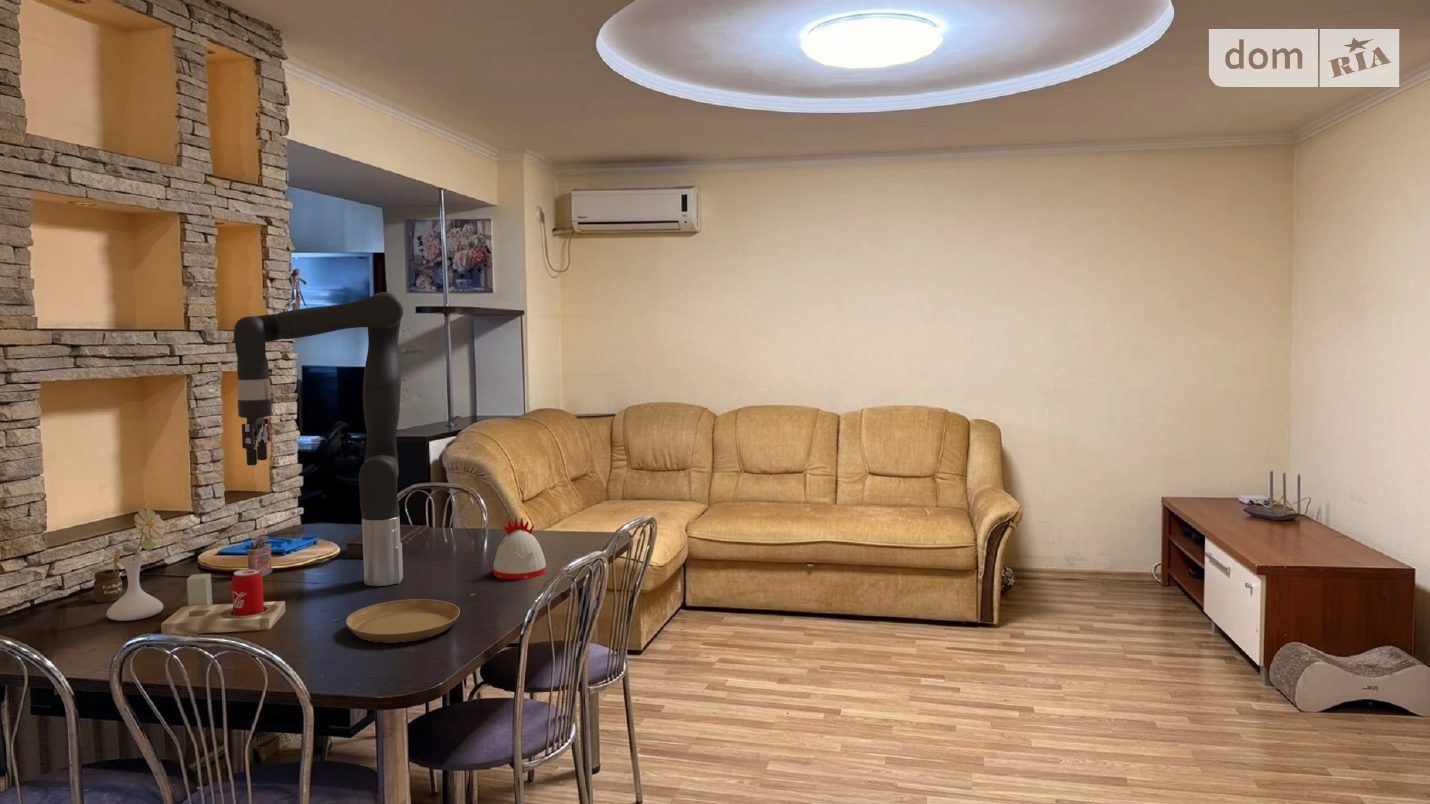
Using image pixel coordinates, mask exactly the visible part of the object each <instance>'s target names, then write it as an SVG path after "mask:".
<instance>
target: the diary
mask: <svg viewBox="0 0 1430 804" xmlns="http://www.w3.org/2000/svg"><path fill="white" fill-rule="evenodd" d="M430 536H431V529H430V526H429V525H415V524H414V525H413V524H400V542H401V543H402V559H404V558H405V557H407V555H408V554H410V553H411V552H413V551H414V550H416V548H418V547H419V546H420V545H422V544H423V543H424V542H426V541H428V539H430ZM342 545H346V555H344V556H343V557H342V559H363V531H362V532H361V533H359V534H357V535H353V536H351V537H349V538H348V539H346V540H345V541H343V542H342Z"/></svg>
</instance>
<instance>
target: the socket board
mask: <svg viewBox="0 0 1430 804" xmlns="http://www.w3.org/2000/svg"><path fill="white" fill-rule="evenodd" d="M263 602H264V612H262V613H259V614H255V615H250V616H234V615H233V603H220V604H212V605H197V606H188V605H184V606H181V607H180V608H179V609H178V610H177V611H175V612H174V613H173V614H172V615H170V616H169V617H167V618H166V619H165V620H164V621H163V622H162V623H161V624H160V626H161V627H160V628H161V629H160V630H161V634H162V633H176V634H179V635H194V634H211V633H214V632H215V633H228V632H231V633H232V632H233V633H234V632H248V631H266V630H267V631H268V630H271V628H272V627H273V626H274V625H275V624H276V623H277V622H278V621H279V620H280V618H281V617H282V616H283V615H284V614H285V613H286V600H280V601H279V600H278V601H263ZM215 633H214V634H215Z"/></svg>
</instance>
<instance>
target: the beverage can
mask: <svg viewBox="0 0 1430 804" xmlns="http://www.w3.org/2000/svg"><path fill="white" fill-rule="evenodd" d="M263 583H264V582H263V576H262V575H261V574H260V572H259V570H258V569H248V568H244V569H243V568H242V569H239V570H236V571H234V572H233V576H232V578H231V592H232V595H231V596H232V604H233V615H234V616H250V615H255V614H259V613H262V612H264V602H265V601H264V585H263Z"/></svg>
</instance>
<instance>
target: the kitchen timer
mask: <svg viewBox="0 0 1430 804" xmlns="http://www.w3.org/2000/svg"><path fill="white" fill-rule="evenodd" d="M514 519H515V520H514V523H513V524H514V525H512V522H511V520H510V518H508V519H507V526H506V525H505V524H504V523H502V526H503V528H504V530H505V532H506V536H505V537H504V538H503V539H502V541H501V543H499V546H498V547H496V553H495V559H494V561H493V576H494V577H496V578H499V579H501V580H504V579H505V580H527V579H533V578H537V577H540V576H543V575H544V574H545V573H546V572H547V565H546V564H547V563H546V559H545V555H544V553H543V550H542V547H541V545H540V544H539V542H538V540H537V538H536V537H535V536H534V535H533V534H532V532H533V530H534V527H535V526H534V525H533V524H532V525H531V527H530V529H528V527H529V521H526V523H525V524H524V521H523V520H524V519H523V517H521V518H520V521H519V525H518V520H517V518H514Z"/></svg>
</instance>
